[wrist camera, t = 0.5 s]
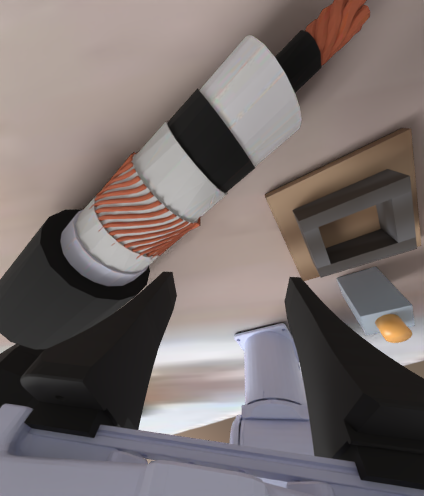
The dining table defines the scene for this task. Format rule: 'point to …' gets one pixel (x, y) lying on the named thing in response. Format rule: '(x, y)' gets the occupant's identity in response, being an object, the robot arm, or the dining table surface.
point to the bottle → (16, 375)
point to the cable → (166, 186)
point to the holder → (351, 209)
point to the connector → (377, 304)
